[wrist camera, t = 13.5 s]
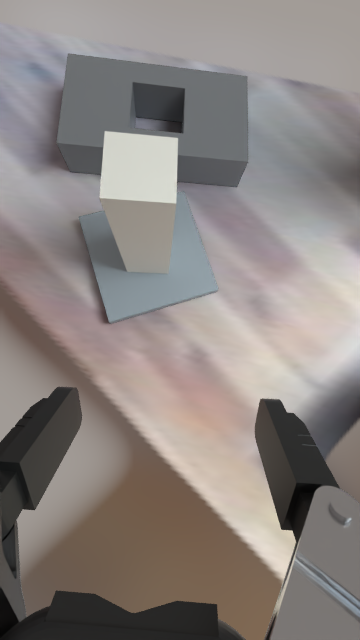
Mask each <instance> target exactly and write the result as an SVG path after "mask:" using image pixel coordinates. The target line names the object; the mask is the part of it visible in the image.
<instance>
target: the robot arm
mask: <svg viewBox="0 0 360 640" xmlns="http://www.w3.org/2000/svg"><path fill="white" fill-rule="evenodd" d="M81 420H82V412H81V406H80V400H79V394H78V390H77V388H72V387H57V388H56V389H55V390H54V391H53V392H52V394H51V395H50V396H49V397H48V398H43V399H42V400H40V401H39V402H37V403H36V404H34V405H33V406H31V407H30V409H29V410H28V411H27V412H26V413H25V415H24V416H23V418H22V419H20V420H19V421H18V423H17V424H16V425H15V427H14V428H12V429H11V431H10V432H9V433H8V434H7V435H6V436H5V438H4V439H3V440H2V441H1V442H0V640H246V639H245V638H244V637H242V636H241V635H240V634H239V633H238V632H237V631H236V630H235V629H234V628H232V627H231V626H229V625H228V624H227V623H225V622H223V621H221V620H219V619H218V614H217V604H206V603H195V602H183V601H175V602H172V603H168V604H165V605H161V606H158V607H155V608H151V609H148V610H145V611H142V612H138V613H130V612H128V611H126V610H124V609H122V608H121V607H119V606H117V605H115V604H113V603H111V602H109V601H107V600H105V599H103V598H102V597H100V596H98V595H96V594H89V593H78V592H66V591H56V592H55V595H54V598H53V600H52V603H51V606H49V607H45V608H43V609H41V610H39V611H37V612H35V613H33V614H31V615H30V616H28V617H26V609H25V604H24V598H23V594H22V589H21V580H20V561H19V544H18V527H17V521H16V519H17V518H18V516H19V514H20V513H21V511H22V509H27V510H35V509H36V507H37V505H38V504H39V502H40V500H41V498H42V496H43V494H44V493H45V491H46V488H47V487H48V485H49V483H50V481H51V480H52V478H53V476H54V474H55V472H56V471H57V469H58V467H59V465H60V463H61V461H62V460H63V458H64V456H65V454H66V452H67V450H68V449H69V446H70V445H71V443H72V441H73V439H74V437H75V435H76V434H77V432H78V430H79V428H80V425H81ZM255 438H256V443H257V446H258V449H259V453H260V456H261V460H262V463H263V467H264V470H265V474H266V477H267V481H268V484H269V488H270V491H271V495H272V498H273V502H274V505H275V509H276V512H277V516H278V519H279V523H280V526H281V530H293V533H294V536H295V540H296V544H295V547H294V550H293V553H292V556H291V559H290V562H289V566H288V569H287V572H286V575H285V578H284V581H283V584H282V587H281V591H280V594H279V597H278V600H277V603H276V606H275V609H274V612H273V615H272V618H271V621H270V624H269V627H268V629H267V632H266V636H265V639H264V640H360V504H359V502H358V501H357V500H355V499H354V498H353V497H352V496H351V495H350V494H348V493H347V492H345V491H343V490H341V489H340V488H339V486H338V484H337V483H336V481H335V479H334V477H333V475H332V473H331V471H330V470H329V468H328V466H327V464H326V462H325V461H324V459H323V457H322V455H321V453H320V451H319V450H318V448H317V447H316V444H315V442H314V440H313V439H312V437H310V433H309V431H308V429H307V428H306V426H305V424H304V423H303V422H302V421H301V420H300V419H299V418H298V417H297V416H296V415H295V414H294V413H287V412H286V410H285V408H284V406H283V404H282V402H281V401H280V400H279V399H261V400H260V403H259V408H258V413H257V418H256V423H255Z"/></svg>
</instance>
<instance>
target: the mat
mask: <svg viewBox="0 0 360 640" xmlns="http://www.w3.org/2000/svg"><path fill="white" fill-rule="evenodd" d="M79 220H80V224H81V227H82V231H83V234H84V237H85V241H86V244H87V248H88V251H89V255H90V258H91V262H92V265H93V268H94V272H95V275H96V279H97V282H98V286H99V289H100V293H101V296H102V299H103V303H104V306H105V310H106V313H107V317H108V320H109V322H110V323H111V324H112V323H115V322H119V321H122V320H125V319H128V318H132V317H135V316H138V315H142V314H145V313H148V312H152V311H155V310H158V309H162V308H165V307H168V306H172V305H175V304H178V303H182V302H185V301H188V300H191V299H195V298H198V297H201V296H205V295H208V294H211V293H215V292H217V291H218V286H217V283H216V280H215V278H214V275H213V272H212V269H211V266H210V263H209V261H208V258H207V255H206V252H205V249H204V247H203V244H202V241H201V238H200V235H199V232H198V230H197V227H196V224H195V221H194V218H193V215H192V213H191V210H190V207H189V204H188V201H187V198H186V196H185V193H184V192H179V193H177V198H176V211H175V221H174V230H173V239H172V248H171V257H170V266H169V274H162V273H141V272H127V270H126V267H125V264H124V262H123V259H122V256H121V254H120V251H119V248H118V246H117V243H116V241H115V238H114V235H113V233H112V230H111V227H110V225H109V222H108V219H107V217H106V214H105V211H101V212H96V213H92V214H88V215H84V216H80V217H79Z"/></svg>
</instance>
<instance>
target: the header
mask: <svg viewBox="0 0 360 640" xmlns="http://www.w3.org/2000/svg"><path fill="white" fill-rule="evenodd" d="M136 117H141V118H150V119H160V120H169V121H178V122H182V133H174V132H165V131H155V130H146V129H137V128H135V123H136ZM105 131H109V132H120V133H131V134H141V135H152V136H163V137H173V138H178V159H177V182H188V183H199V184H211V185H222V186H233V187H237V185H238V183H239V181H240V179H241V177H242V174H243V172H244V170H245V168H246V166H247V163H248V101H247V76H241V75H233V74H225V73H217V72H209V71H201V70H193V69H186V68H178V67H170V66H162V65H154V64H146V63H138V62H131V61H123V60H115V59H107V58H99V57H91V56H83V55H76V54H68V57H67V65H66V72H65V80H64V88H63V96H62V103H61V111H60V119H59V127H58V135H57V142H56V143H57V145H58V147H59V149H60V151H61V153H62V155H63V158H64V160H65V162H66V164H67V166H68V168H69V170H70V172H78V173H89V174H100V175H101V172H102V159H103V147H104V134H105Z"/></svg>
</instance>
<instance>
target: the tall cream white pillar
mask: <svg viewBox="0 0 360 640" xmlns="http://www.w3.org/2000/svg"><path fill="white" fill-rule="evenodd" d="M177 159H178V138H173V137H163V136H152V135H141V134H131V133H120V132H109V131H105V134H104V147H103V159H102V172H101V184H100V197H99V198H100V201H101V204H102V206H103V209H104V211H105V214H106V217H107V219H108V222H109V225H110V227H111V230H112V233H113V235H114V238H115V241H116V243H117V246H118V248H119V251H120V254H121V256H122V259H123V262H124V264H125V267H126V270H127V272H141V273H162V274H169V266H170V257H171V248H172V239H173V230H174V221H175V211H176V198H177Z"/></svg>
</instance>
